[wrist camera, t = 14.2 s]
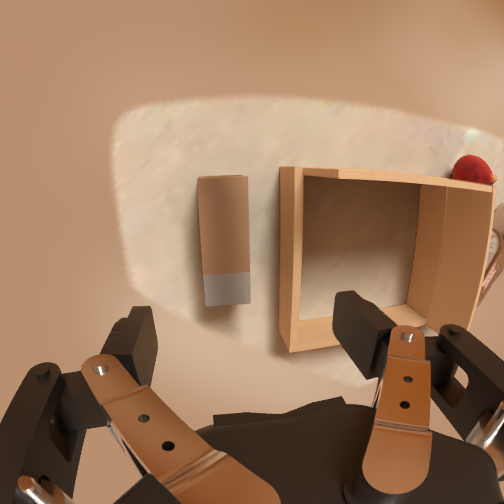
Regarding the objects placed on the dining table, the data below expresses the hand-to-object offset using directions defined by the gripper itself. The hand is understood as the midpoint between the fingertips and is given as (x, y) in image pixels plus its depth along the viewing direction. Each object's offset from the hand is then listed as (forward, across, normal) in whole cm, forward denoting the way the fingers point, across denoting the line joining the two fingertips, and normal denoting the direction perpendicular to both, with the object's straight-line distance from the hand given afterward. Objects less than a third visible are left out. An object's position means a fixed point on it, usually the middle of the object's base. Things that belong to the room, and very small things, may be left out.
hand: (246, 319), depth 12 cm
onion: (+19, -32, -7) cm, 38 cm away
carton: (+19, -16, +3) cm, 25 cm away
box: (+19, 0, 0) cm, 19 cm away
